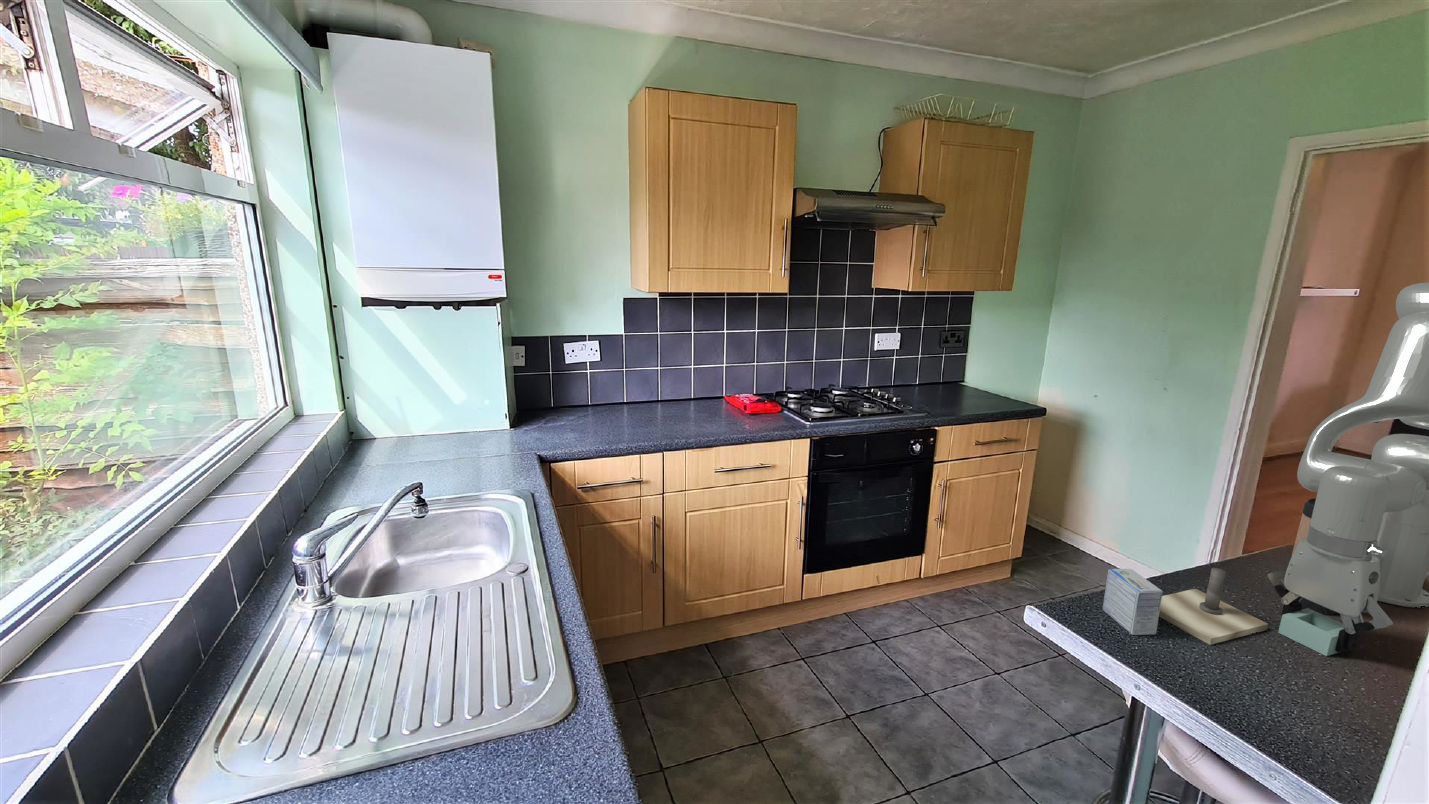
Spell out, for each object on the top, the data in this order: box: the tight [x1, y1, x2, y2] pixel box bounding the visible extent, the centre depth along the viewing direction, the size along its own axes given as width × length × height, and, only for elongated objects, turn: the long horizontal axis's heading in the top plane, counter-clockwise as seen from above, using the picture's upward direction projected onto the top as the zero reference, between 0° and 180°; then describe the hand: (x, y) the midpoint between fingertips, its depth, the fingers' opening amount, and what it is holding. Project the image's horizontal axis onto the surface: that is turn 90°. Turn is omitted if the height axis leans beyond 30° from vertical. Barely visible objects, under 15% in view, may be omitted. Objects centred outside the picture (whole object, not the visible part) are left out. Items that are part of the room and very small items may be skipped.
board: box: [1159, 567, 1269, 646], centre depth 104 cm, size 14×12×9 cm
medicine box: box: [1102, 568, 1163, 636], centre depth 103 cm, size 8×4×9 cm, turn 0°
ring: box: [1277, 608, 1344, 657], centre depth 98 cm, size 7×7×4 cm
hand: (1315, 636), depth 98 cm, fingers closed on ring, 6 cm apart
